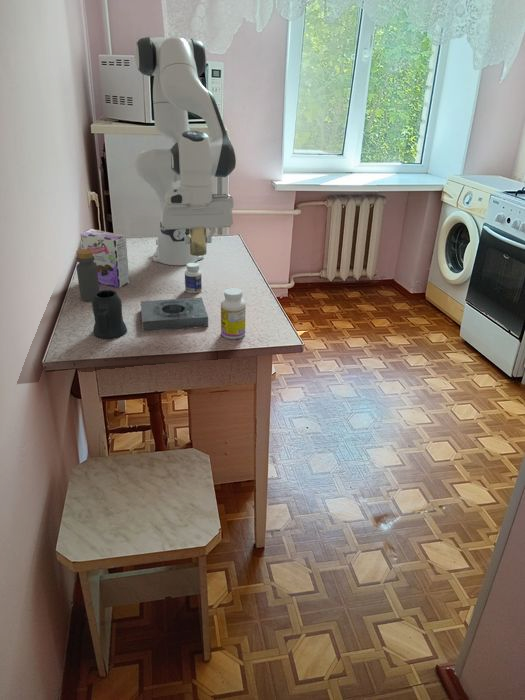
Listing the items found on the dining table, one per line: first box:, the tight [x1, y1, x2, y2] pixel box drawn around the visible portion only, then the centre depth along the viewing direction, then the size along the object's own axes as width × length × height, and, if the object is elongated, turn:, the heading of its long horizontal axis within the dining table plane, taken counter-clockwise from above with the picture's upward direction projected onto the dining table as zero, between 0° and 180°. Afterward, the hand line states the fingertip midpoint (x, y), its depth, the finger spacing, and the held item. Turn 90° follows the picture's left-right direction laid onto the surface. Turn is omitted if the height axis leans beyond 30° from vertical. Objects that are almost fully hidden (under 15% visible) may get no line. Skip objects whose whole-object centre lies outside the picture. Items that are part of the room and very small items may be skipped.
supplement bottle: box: [220, 287, 247, 340], centre depth 143 cm, size 7×7×13 cm
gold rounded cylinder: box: [189, 228, 208, 256], centre depth 154 cm, size 5×5×8 cm
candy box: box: [80, 228, 131, 289], centre depth 173 cm, size 14×6×16 cm, turn 65°
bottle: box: [75, 248, 101, 303], centre depth 161 cm, size 6×6×15 cm
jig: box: [140, 297, 209, 332], centre depth 153 cm, size 14×18×3 cm
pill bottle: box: [184, 262, 203, 294], centre depth 170 cm, size 5×5×9 cm
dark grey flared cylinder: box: [91, 289, 128, 340], centre depth 141 cm, size 12×9×11 cm
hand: (198, 242), depth 155 cm, fingers closed on gold rounded cylinder, 5 cm apart
